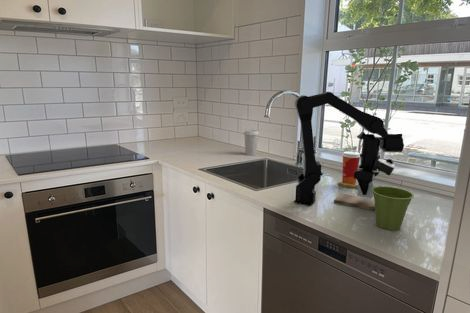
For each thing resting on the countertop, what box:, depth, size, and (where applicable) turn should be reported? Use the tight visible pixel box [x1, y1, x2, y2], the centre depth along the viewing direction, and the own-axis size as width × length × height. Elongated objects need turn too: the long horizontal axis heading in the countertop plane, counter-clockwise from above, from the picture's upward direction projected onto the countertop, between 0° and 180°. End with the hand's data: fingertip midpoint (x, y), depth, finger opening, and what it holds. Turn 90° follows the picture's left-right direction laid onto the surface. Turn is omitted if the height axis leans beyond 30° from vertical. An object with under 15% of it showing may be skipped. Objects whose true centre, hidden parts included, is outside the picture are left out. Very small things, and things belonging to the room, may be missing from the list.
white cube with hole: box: [356, 181, 376, 199], centre depth 122 cm, size 5×5×5 cm
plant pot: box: [372, 185, 415, 231], centre depth 104 cm, size 12×12×11 cm
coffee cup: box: [243, 129, 260, 156], centre depth 206 cm, size 10×10×15 cm
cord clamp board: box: [333, 182, 380, 212], centre depth 123 cm, size 18×9×8 cm, turn 58°
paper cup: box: [341, 151, 361, 185], centre depth 147 cm, size 8×8×14 cm
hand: (365, 193), depth 122 cm, fingers closed on white cube with hole, 5 cm apart
